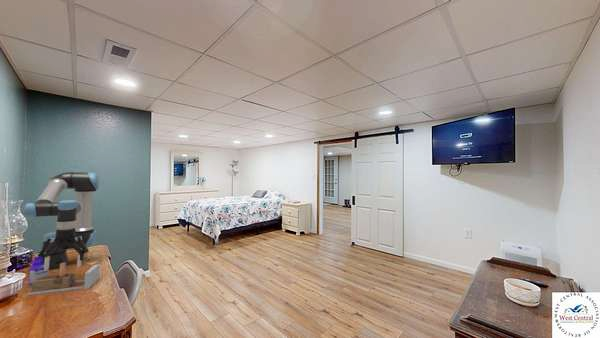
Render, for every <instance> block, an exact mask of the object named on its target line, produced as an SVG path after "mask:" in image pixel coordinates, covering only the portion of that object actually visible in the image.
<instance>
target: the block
mask: <svg viewBox="0 0 600 338" xmlns="http://www.w3.org/2000/svg"><path fill="white" fill-rule="evenodd" d="M75 281H76V272H70V273H69V272H68V273H67V272H66V273H65V277H61V278H59V273H57V274H48V275H46V276H41V277H39V278H38V279H36V280H35V281H33V282H32V285H31V291H30V292H39V291H47V290H56V289H64V288H72V287H73V285H75V284H76V283H75Z"/></svg>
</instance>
